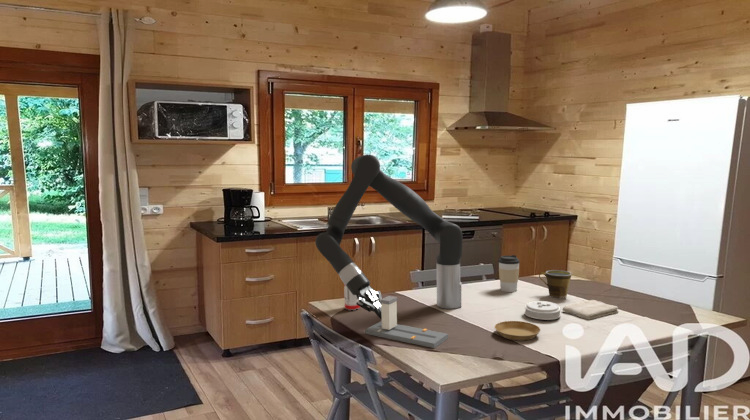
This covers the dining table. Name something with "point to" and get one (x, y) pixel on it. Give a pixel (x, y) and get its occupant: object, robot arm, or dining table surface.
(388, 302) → the fader tab
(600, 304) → the washcloth
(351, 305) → the beer can
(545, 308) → the lid
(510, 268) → the coffee cup
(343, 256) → the robot arm
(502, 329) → the plant saucer
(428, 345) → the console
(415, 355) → the dining table surface
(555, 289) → the ceramic cup
